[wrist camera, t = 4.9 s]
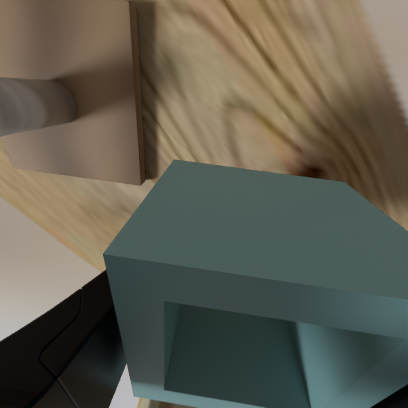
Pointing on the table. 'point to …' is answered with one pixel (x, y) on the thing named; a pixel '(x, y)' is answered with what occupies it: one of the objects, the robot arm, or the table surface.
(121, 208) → the table surface
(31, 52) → the post plate
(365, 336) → the collar
